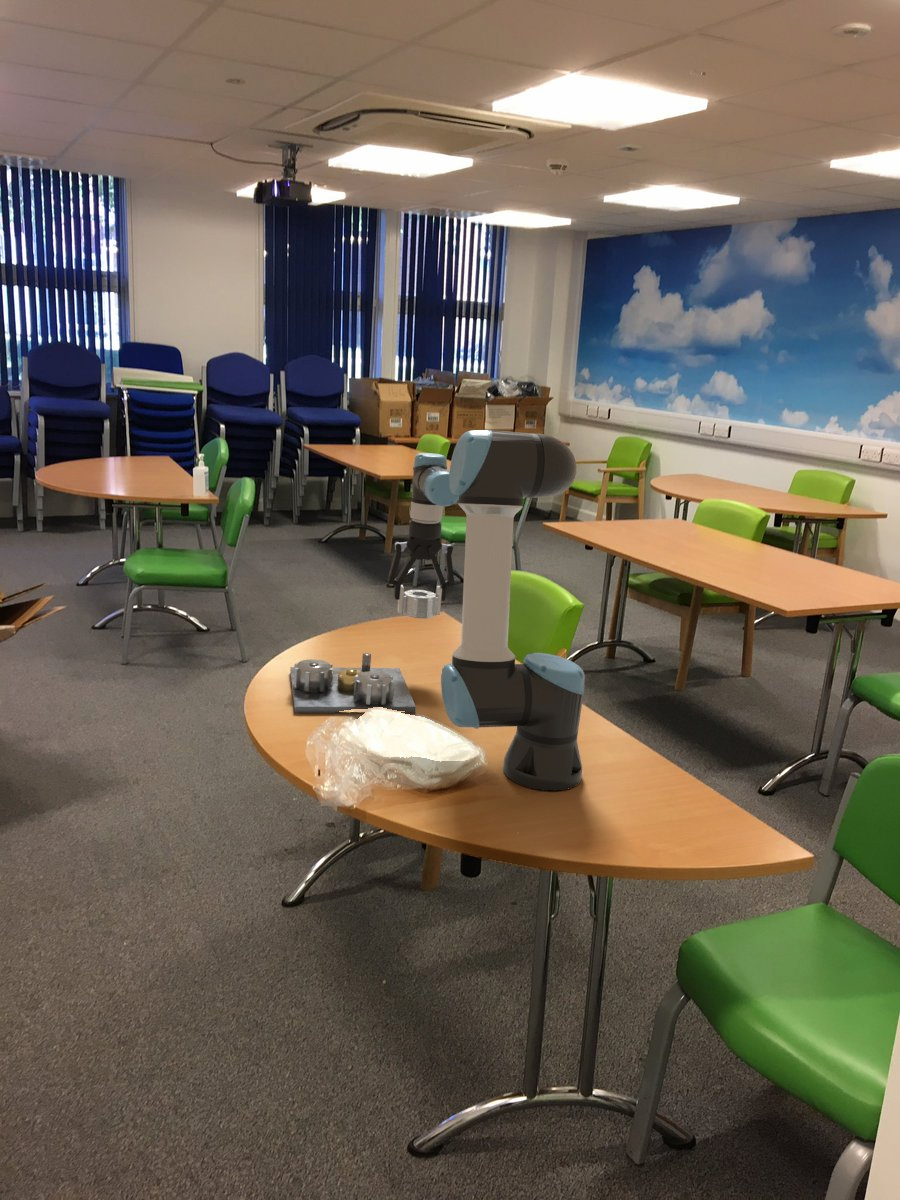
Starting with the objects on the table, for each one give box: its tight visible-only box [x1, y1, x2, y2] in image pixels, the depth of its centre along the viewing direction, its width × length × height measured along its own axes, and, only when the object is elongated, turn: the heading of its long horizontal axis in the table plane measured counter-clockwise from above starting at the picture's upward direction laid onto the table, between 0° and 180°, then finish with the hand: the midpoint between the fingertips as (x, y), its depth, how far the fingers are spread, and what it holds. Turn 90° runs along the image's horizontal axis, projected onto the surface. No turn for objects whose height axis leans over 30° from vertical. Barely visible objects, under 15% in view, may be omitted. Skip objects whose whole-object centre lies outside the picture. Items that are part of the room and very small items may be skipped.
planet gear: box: [401, 589, 438, 620], centre depth 223 cm, size 8×8×5 cm
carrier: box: [289, 652, 417, 714], centre depth 210 cm, size 24×26×7 cm
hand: (418, 612), depth 223 cm, fingers closed on planet gear, 8 cm apart
